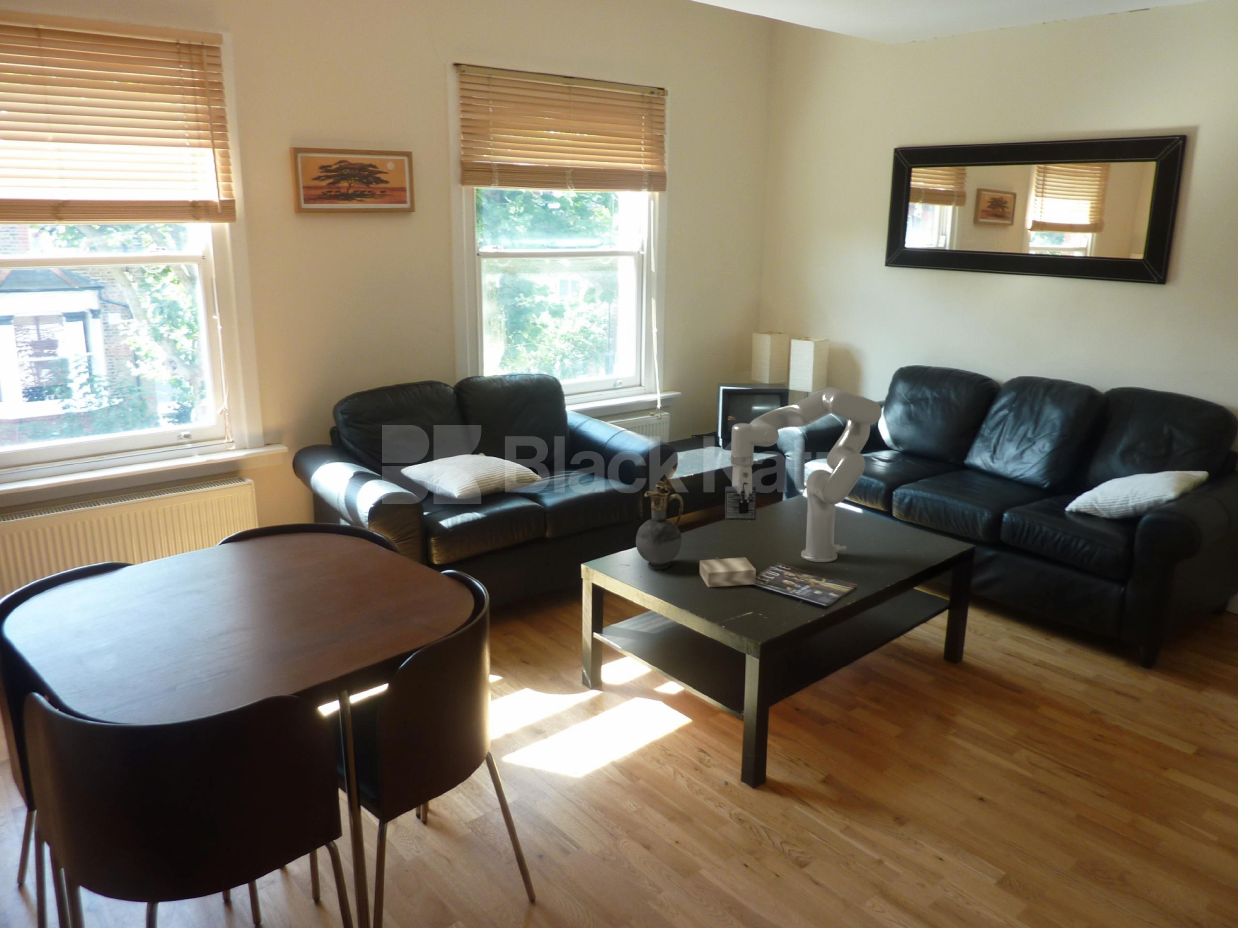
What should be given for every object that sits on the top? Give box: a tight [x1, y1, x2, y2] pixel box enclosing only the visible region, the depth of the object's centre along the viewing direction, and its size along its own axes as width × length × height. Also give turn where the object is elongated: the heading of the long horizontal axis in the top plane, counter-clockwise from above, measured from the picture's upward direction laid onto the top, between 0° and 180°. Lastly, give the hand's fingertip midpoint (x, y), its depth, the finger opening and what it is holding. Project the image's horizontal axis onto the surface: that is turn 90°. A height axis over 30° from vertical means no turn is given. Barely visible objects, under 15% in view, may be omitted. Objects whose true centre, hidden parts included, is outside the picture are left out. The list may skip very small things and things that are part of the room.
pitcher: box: [635, 481, 684, 570], centre depth 326 cm, size 11×19×30 cm, turn 130°
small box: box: [724, 486, 757, 521], centre depth 324 cm, size 11×6×10 cm, turn 84°
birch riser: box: [699, 557, 757, 588], centre depth 315 cm, size 16×12×5 cm
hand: (740, 509), depth 325 cm, fingers closed on small box, 7 cm apart
